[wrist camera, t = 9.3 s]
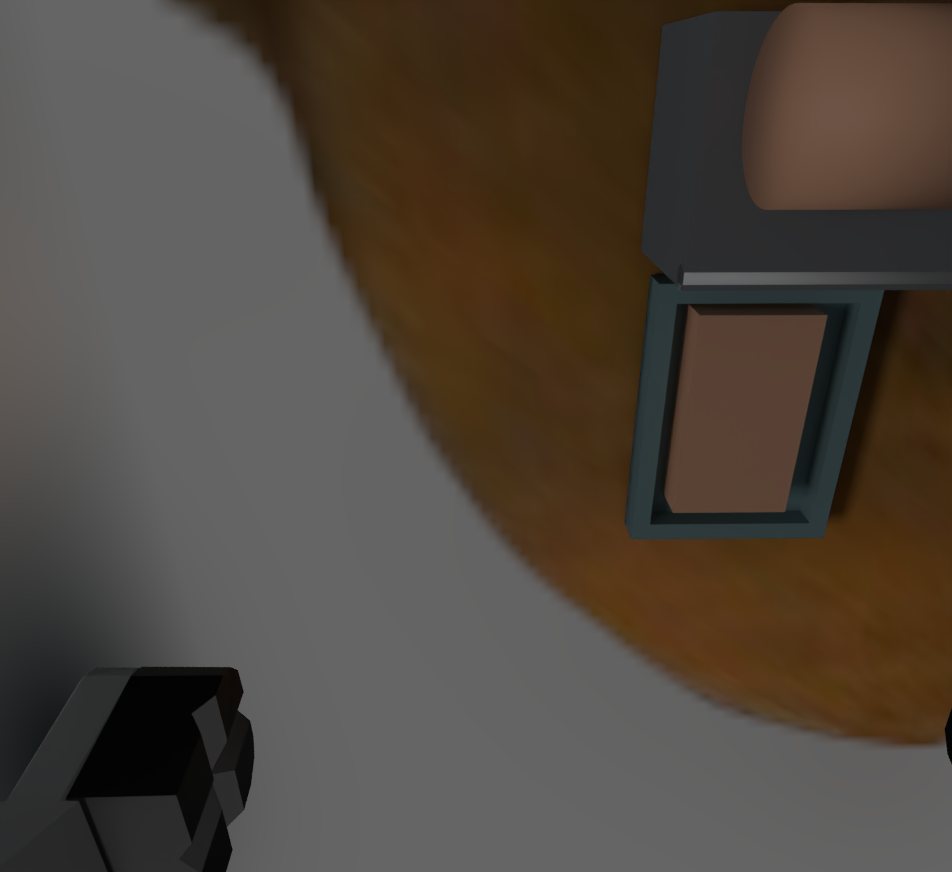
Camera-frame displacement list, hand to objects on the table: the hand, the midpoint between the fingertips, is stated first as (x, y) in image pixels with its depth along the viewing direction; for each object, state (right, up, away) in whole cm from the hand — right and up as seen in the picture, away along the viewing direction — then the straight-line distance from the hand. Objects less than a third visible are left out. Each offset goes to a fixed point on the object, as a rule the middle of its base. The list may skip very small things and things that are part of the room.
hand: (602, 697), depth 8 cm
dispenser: (+10, +14, +20) cm, 26 cm away
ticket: (+10, +4, +24) cm, 26 cm away
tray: (+10, +4, +25) cm, 27 cm away
